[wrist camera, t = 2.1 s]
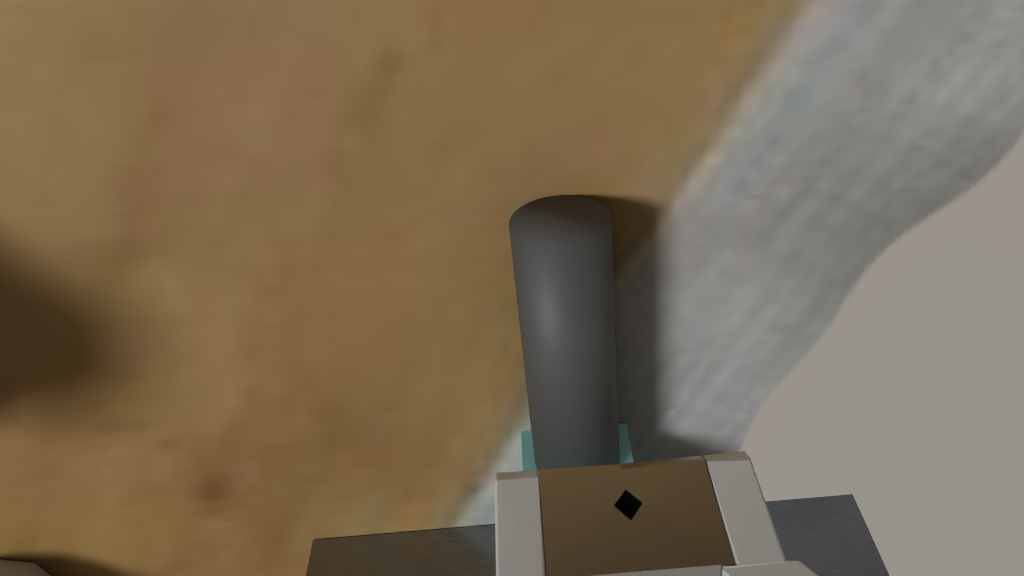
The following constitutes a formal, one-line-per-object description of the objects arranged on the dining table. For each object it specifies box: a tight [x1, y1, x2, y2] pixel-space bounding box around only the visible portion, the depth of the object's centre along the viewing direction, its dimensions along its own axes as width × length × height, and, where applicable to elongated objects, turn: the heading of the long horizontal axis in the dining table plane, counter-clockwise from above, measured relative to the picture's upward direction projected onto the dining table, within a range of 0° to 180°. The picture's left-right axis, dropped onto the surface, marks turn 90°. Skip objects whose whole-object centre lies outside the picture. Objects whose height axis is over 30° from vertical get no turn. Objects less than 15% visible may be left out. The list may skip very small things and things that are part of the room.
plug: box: [509, 195, 634, 483], centre depth 27 cm, size 13×4×4 cm, turn 5°
